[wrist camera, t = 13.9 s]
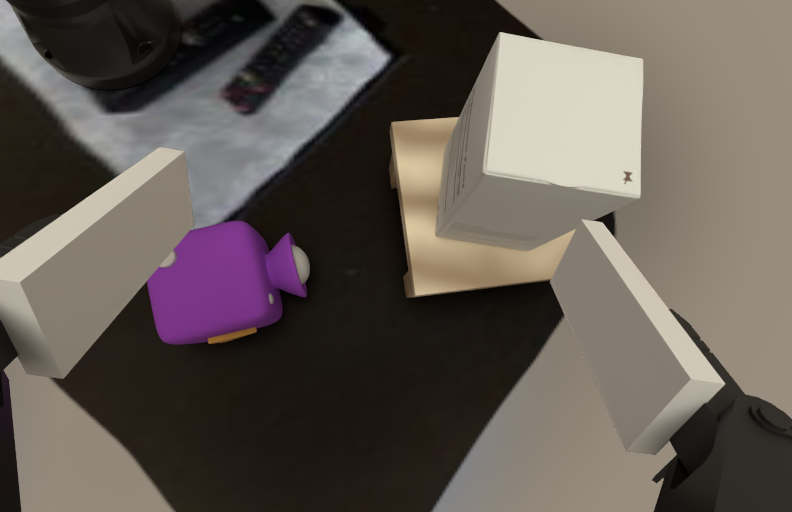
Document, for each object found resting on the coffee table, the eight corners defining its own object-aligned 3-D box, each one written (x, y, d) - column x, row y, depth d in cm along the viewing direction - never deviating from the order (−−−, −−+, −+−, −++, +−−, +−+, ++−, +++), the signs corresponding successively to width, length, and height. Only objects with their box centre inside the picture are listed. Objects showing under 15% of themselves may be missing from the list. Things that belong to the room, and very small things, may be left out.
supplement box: (538, 160, 38) (651, 54, 24) (530, 253, 37) (647, 202, 22) (443, 143, 38) (498, 24, 23) (431, 237, 36) (483, 173, 21)
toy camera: (329, 301, 44) (322, 293, 34) (207, 361, 42) (162, 370, 32) (287, 213, 45) (269, 181, 36) (166, 267, 43) (111, 248, 33)
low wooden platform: (384, 165, 47) (391, 122, 38) (516, 153, 49) (555, 110, 40) (402, 303, 45) (415, 295, 35) (541, 285, 47) (590, 273, 37)
